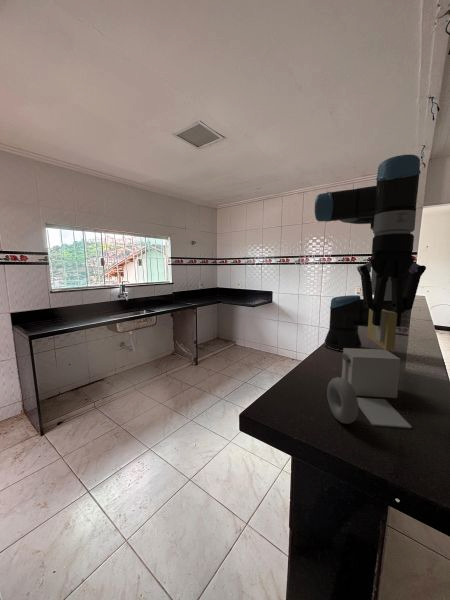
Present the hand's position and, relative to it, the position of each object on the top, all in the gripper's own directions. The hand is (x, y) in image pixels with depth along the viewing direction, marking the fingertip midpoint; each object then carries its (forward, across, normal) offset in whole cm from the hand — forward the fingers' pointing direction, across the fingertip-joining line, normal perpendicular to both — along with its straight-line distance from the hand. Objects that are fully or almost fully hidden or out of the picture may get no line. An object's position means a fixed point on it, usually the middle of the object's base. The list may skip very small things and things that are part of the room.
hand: (384, 339), depth 58 cm
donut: (+19, -9, -3) cm, 21 cm away
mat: (+19, +1, +2) cm, 19 cm away
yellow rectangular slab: (+1, 0, +3) cm, 3 cm away
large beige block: (+19, +3, +14) cm, 24 cm away
